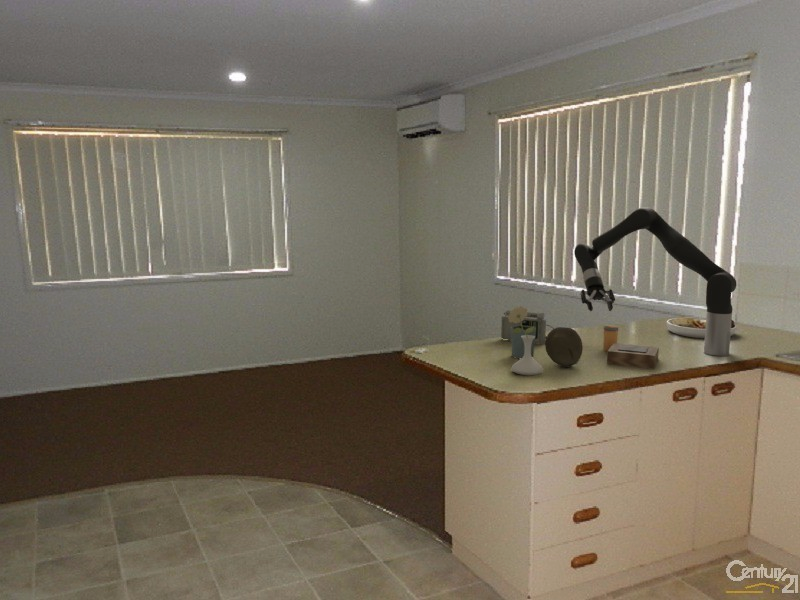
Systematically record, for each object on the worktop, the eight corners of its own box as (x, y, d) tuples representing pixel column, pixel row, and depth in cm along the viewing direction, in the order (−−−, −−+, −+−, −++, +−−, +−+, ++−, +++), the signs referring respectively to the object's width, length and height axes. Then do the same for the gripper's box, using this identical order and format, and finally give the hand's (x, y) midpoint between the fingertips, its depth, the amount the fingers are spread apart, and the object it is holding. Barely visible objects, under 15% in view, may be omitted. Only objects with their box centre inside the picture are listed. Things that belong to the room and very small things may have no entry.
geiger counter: (500, 310, 282) (556, 314, 270) (504, 307, 287) (559, 312, 276) (499, 340, 284) (554, 346, 272) (504, 337, 289) (558, 343, 278)
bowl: (669, 338, 289) (670, 321, 288) (663, 326, 318) (664, 310, 316) (742, 342, 281) (743, 324, 279) (728, 329, 309) (730, 313, 308)
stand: (658, 359, 249) (658, 346, 248) (654, 368, 234) (655, 354, 234) (613, 354, 256) (613, 341, 255) (607, 363, 242) (607, 350, 241)
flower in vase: (538, 369, 234) (540, 303, 230) (546, 377, 223) (549, 308, 219) (503, 369, 234) (505, 303, 230) (510, 378, 222) (511, 308, 219)
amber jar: (618, 349, 266) (619, 326, 264) (616, 352, 261) (617, 328, 259) (603, 348, 268) (605, 325, 267) (601, 350, 263) (602, 327, 262)
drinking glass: (516, 360, 248) (517, 330, 246) (505, 354, 257) (506, 325, 256) (539, 358, 250) (540, 329, 249) (527, 352, 260) (528, 324, 258)
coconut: (586, 364, 241) (587, 326, 239) (576, 372, 229) (578, 332, 227) (550, 359, 248) (551, 322, 246) (538, 367, 236) (540, 328, 234)
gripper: (579, 275, 280) (587, 305, 270) (611, 275, 281) (619, 305, 271) (575, 285, 286) (582, 315, 276) (605, 285, 287) (614, 314, 277)
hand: (601, 310), depth 274 cm, fingers open, 8 cm apart
